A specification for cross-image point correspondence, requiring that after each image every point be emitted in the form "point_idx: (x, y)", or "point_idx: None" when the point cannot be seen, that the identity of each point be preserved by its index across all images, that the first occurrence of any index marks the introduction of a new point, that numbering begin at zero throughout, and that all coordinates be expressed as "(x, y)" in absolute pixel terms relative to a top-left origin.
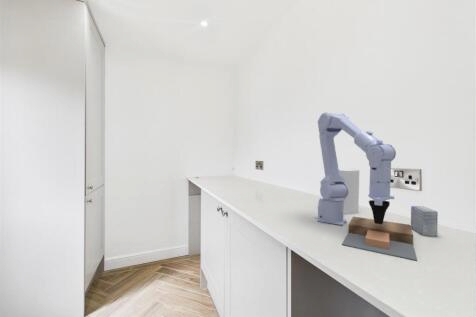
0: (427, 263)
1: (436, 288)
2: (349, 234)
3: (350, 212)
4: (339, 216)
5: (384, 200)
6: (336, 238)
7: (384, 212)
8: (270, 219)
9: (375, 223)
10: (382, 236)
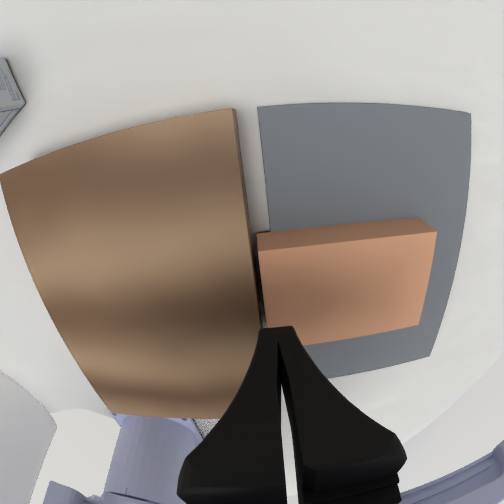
0: (464, 78)
1: None
2: None
3: (18, 391)
4: (170, 444)
5: (489, 486)
6: (369, 385)
7: (340, 397)
8: (290, 489)
9: (136, 339)
10: (354, 273)
